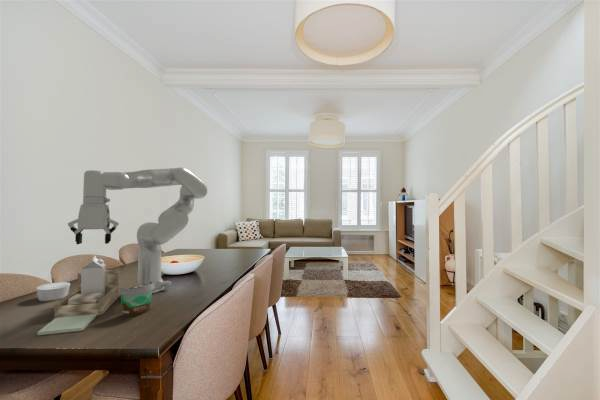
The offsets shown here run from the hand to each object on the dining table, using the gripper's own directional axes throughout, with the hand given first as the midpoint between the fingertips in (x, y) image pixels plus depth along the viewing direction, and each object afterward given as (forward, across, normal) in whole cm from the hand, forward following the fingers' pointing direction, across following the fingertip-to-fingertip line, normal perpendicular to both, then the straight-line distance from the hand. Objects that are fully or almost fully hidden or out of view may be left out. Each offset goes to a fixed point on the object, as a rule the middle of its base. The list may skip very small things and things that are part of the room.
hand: (93, 243), depth 115 cm
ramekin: (+25, +18, -13) cm, 34 cm away
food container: (+24, -21, +15) cm, 35 cm away
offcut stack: (+25, 0, +8) cm, 26 cm away
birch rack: (+24, 0, +4) cm, 25 cm away
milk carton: (+25, 0, 0) cm, 25 cm away
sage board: (+24, 0, +21) cm, 32 cm away
